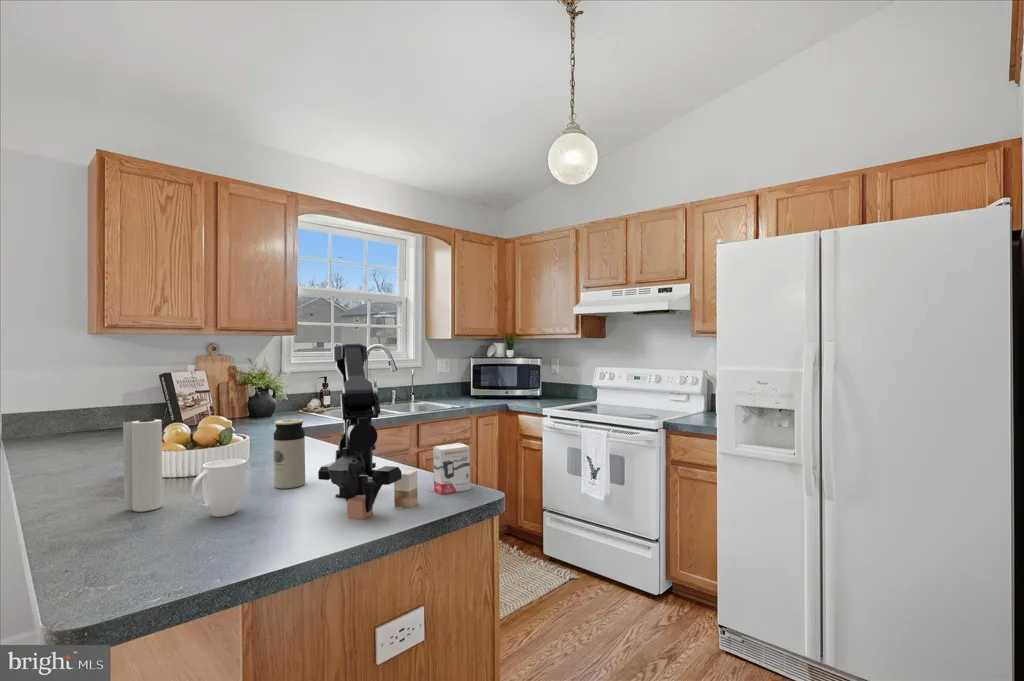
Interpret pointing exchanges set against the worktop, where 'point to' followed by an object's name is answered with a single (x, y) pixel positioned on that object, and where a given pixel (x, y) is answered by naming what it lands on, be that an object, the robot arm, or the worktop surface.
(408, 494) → the oak block
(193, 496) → the mug
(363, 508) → the terracotta block
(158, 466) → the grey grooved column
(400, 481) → the cream block
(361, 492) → the robot arm
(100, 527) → the worktop surface
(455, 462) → the ink box
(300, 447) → the travel mug
